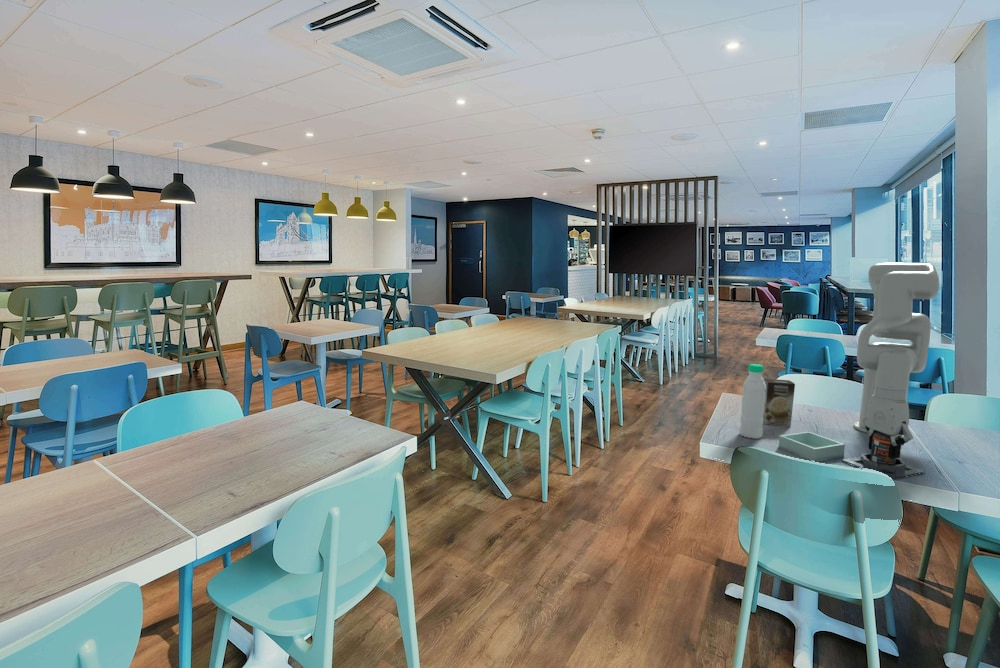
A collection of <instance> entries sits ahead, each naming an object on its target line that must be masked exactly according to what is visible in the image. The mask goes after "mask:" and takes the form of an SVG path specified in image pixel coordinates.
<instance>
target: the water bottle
mask: <svg viewBox="0 0 1000 668" xmlns="http://www.w3.org/2000/svg"><path fill="white" fill-rule="evenodd" d="M764 368H765V367H764V365H762V364H759V363H757V364H756V363H750V364H749V365H748V366H747V372H748V376H746V379H745V380H744V382H743V384H742V388H743V390H742V395H741V396H742V397H741V415H740V426H739V434H740V436H742V437H743V436H744V438H746V437H747V439H751V438H752V440H757V439H758V440H759V439H761V438H762V437H763V430H764V429H763V425H764V423H763V414H764V406H765V390H766V385H765V382H764V379H765V378H763V373H764V370H765V369H764Z"/></svg>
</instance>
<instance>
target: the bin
mask: <svg viewBox="0 0 1000 668" xmlns="http://www.w3.org/2000/svg"><path fill="white" fill-rule="evenodd" d="M778 438H779V439H778V448H779V449H781V450H784V451H786V452H789V453H791V454H793V455H796V456H798V457H800V458H804V459H806V460H808V459H809V461H810V460H814V461H816V462H820V461H821V462H822V461H827V460H833V459H838V458H844V457H845V449H846V447H845V446H846V443H842V442H841V441H836V440H833V439H831V438H829V437H825V436H822V435H820V434H817V433H814V432H811V431H803V432H802V431H801V432H797V433H789V434H781V435H779V437H778Z"/></svg>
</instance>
